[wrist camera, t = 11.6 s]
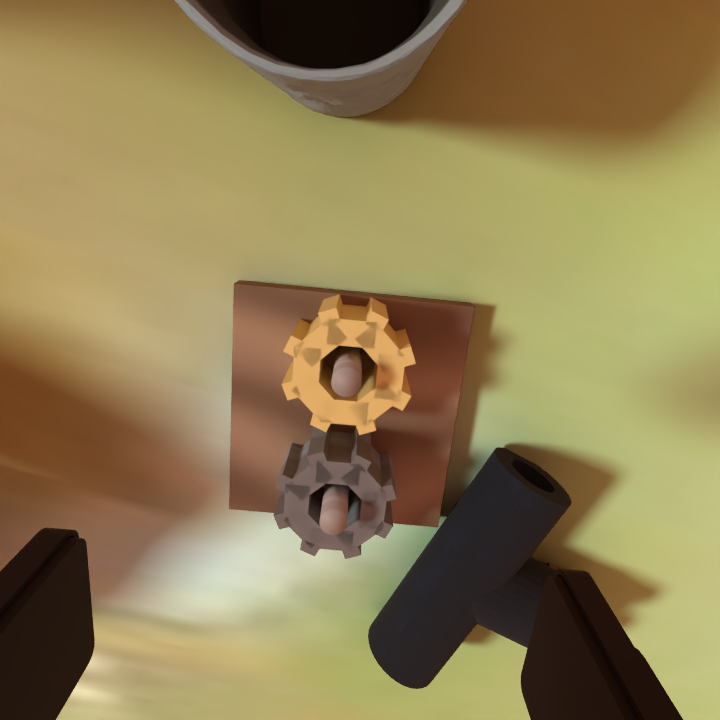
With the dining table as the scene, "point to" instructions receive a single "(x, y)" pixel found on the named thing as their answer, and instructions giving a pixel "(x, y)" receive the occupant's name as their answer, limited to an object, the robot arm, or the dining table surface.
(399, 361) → the ochre gear
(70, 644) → the robot arm
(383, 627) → the pipe connector
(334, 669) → the dining table surface
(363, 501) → the board
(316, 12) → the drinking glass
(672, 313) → the dining table surface
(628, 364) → the dining table surface
